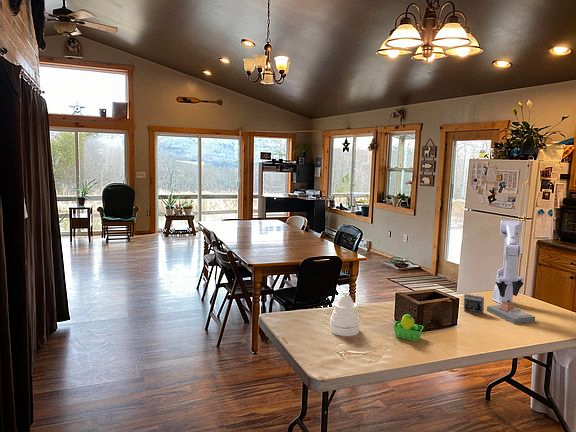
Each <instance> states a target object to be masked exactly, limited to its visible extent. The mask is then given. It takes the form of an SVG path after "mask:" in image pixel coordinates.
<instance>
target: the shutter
mask: <svg viewBox="0 0 576 432" xmlns="http://www.w3.org/2000/svg"><path fill="white" fill-rule="evenodd" d="M514 308H515V309H510V311H509V314H511V315H513V316H515V317H518V318H526V317H530V315H531V313H528V312H526V311H523V310H522V309H521V308H520V307H514Z"/></svg>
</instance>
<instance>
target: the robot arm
mask: <svg viewBox="0 0 576 432" xmlns="http://www.w3.org/2000/svg"><path fill="white" fill-rule="evenodd" d="M521 232H522V222H521V220H517V221H516V220H508V219H507V220H504V219H501V220H500V225H499V236H501V237H503V241H504V245H503V257H502V258H503V260H502V261H503V262H502V263H503V264H502V267H501V268H499V269H498V270H497V271H496V276H495V277H496V278H495V284H494V287H493V293H492V298H491V301H494V302H497V303H498V304H500V305H502V301H507V300H510V301H511V302H513V303H515V305H516V304H517V302H515V301H513V300H514V299H513V298H514V296H515V297H517V296H518V295H519V292H520V290H521V288H522V287H523V285H524V280H525V279H524V277H523V276H521V275H520V276H518V266H519V257H520V256H521V245H520V244H519V237H520V234H521Z"/></svg>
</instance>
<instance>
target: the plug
mask: <svg viewBox="0 0 576 432" xmlns="http://www.w3.org/2000/svg"><path fill="white" fill-rule="evenodd" d="M513 302H514V301H513ZM513 302H511V301H510V300H507V301H502V304H501V305H502V307H501V310H503V311H505V312H509V311H510V309H514V308H516V307H515V305H516V304H515V303H516V302H515V303H513Z"/></svg>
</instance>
